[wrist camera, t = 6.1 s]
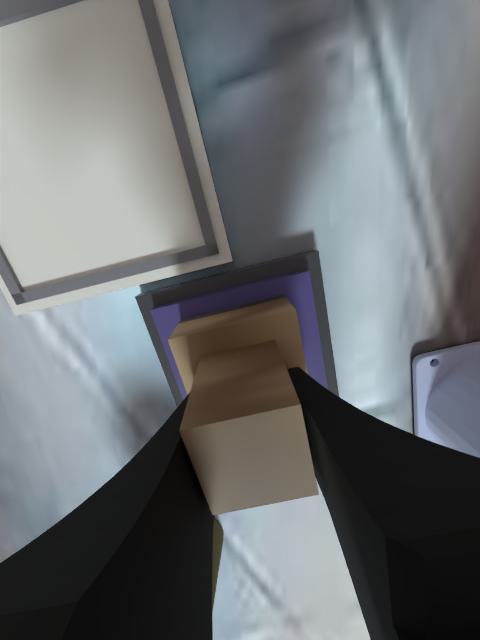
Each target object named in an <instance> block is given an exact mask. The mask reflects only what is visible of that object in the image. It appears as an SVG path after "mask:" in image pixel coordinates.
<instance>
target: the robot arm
mask: <svg viewBox="0 0 480 640" xmlns="http://www.w3.org/2000/svg"><path fill="white" fill-rule="evenodd" d="M432 359H434V361H433V362H432V363H430V362H431V360H432ZM412 368H413V399H414V429H415V435H413V434H411V433H409V432H406V431H404V430H401V429H399V428H397V427H394V426H392V425H390V424H388V423H385V422H383V421H381V420H379V419H377V418H375V417H373V416H371V415H369V414H367V413H365V412H363V411H361V410H359V409H358V408H356V407H354V406H352V405H351V404H349V403H348V402H346V401H344V400H343V399H341V398H340V397H338V396H337V395H335V394H334V393H332V392H331V391H329V390H328V389H327V388H325V387H324V386H322V385H321V384H320V383H318V382H317V381H316V380H314V379H313V378H312V377H311V376H309V375H308V374H307V373H306V372H305V371H303V370H302V369H301V368H300V367H294V368H289V369H287V371H288V373H289V376H290V378H291V381H292V383H293V386H294V388H295V391H296V394H297V396H298V399H299V401H300V404H301V408H302V413H303V418H304V423H305V428H306V433H307V438H308V443H309V448H310V453H311V458H312V463H313V468H314V473H315V477H316V479H317V482H318V484H319V486H320V489H321V491H322V493H323V496H324V498H325V501H326V504H327V506H328V509H329V512H330V515H331V518H332V521H333V524H334V527H335V530H336V533H337V536H338V539H339V542H340V545H341V548H342V551H343V554H344V557H345V560H346V564H347V567H348V570H349V573H350V576H351V579H352V582H353V585H354V588H355V591H356V595H357V598H358V601H359V604H360V607H361V610H362V613H363V617H364V620H365V623H366V626H367V629H368V632H369V635H370V639H371V640H480V341H477V342H473V343H468V344H464V345H459V346H455V347H450V348H446V349H441V350H437V351H432V352H428V353H423V354H420V355H417V356H416V357H415V358H414V360H413V363H412ZM189 394H190V393H189ZM189 394H188V395H187V396H186V397H185V399H184V400H183V401H182V402H181V404H180V405H179V406H178V407H177V409H176V410H175V411H174V412H173V414H172V415H171V416H170V417H169V419H168V420H167V421H166V422H165V423H164V425H163V426H162V427H161V428H160V429H159V430H158V431H157V433H156V434H155V435H154V436H153V437H152V438H151V439H150V440H149V442H148V443H147V444H146V445H145V446H144V447H143V448H142V449H141V450H140V451H139V452H138V453H137V454H136V455H135V456H134V457H133V458H132V459H131V460H130V461H129V462H128V463H127V464H126V465H125V466H124V467H123V468H122V469H121V470H120V471H119V472H118V473H117V474H116V475H115V476H114V477H112V478H111V479H110V480H109V481H108V482H107V483H105V484H104V485H103V486H102V487H101V488H100V489H98V490H97V491H96V492H95V493H94V494H93V495H91V496H90V497H89V498H88V499H87V500H85V501H84V502H83V503H82V504H81V505H79V506H78V507H77V508H76V509H74V510H73V511H72V512H71V513H69V514H68V515H67V516H65V517H64V518H63V519H62V520H60V521H59V522H58V523H56V524H55V525H54V526H52V527H51V528H50V529H48V530H47V531H45V532H44V533H43V534H41V535H40V536H39V537H37V538H36V539H35V540H33V541H32V542H30V543H29V544H28V545H26V546H25V547H23V548H22V549H21V550H19V551H18V552H16V553H15V554H13V555H12V556H10V557H9V558H7V559H6V560H4V561H3V562H1V563H0V640H212V562H213V527H214V515H212V513H211V510H210V507H209V505H208V502H207V500H206V497H205V495H204V492H203V490H202V487H201V485H200V482H199V480H198V477H197V475H196V472H195V470H194V467H193V464H192V462H191V459H190V457H189V454H188V452H187V449H186V447H185V444H184V442H183V439H182V437H181V434H180V432H179V430H180V426H181V423H182V419H183V416H184V412H185V409H186V405H187V402H188V398H189Z"/></svg>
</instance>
